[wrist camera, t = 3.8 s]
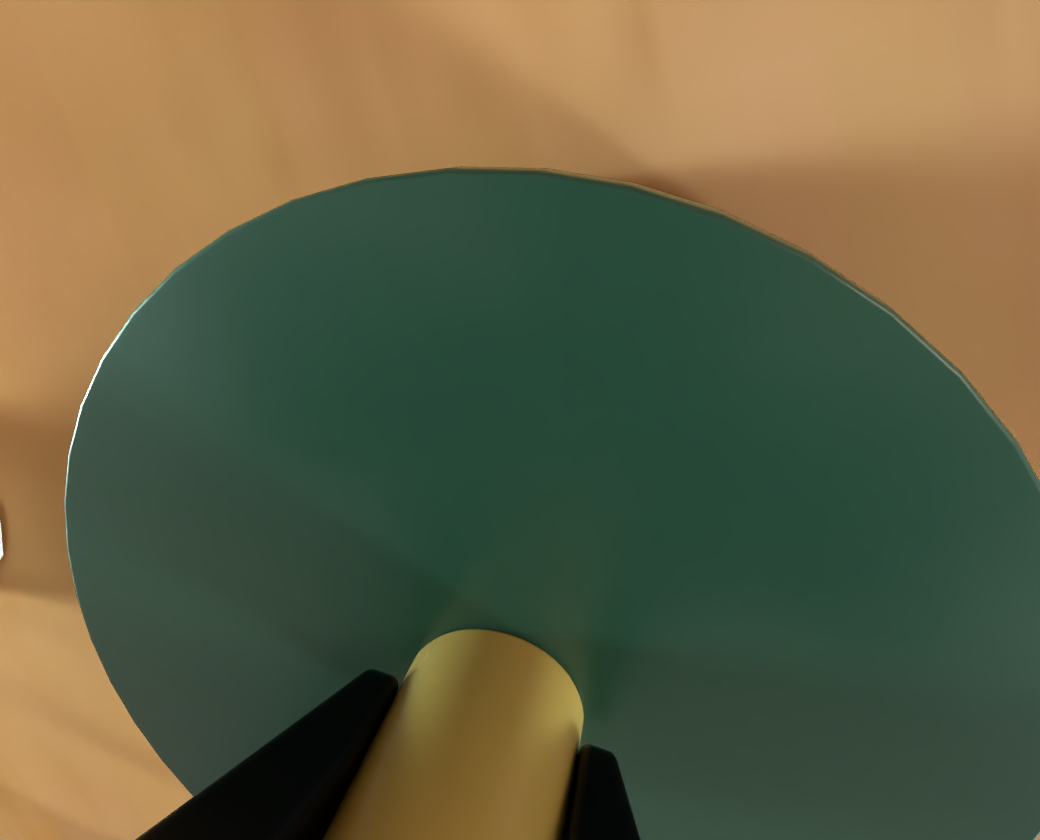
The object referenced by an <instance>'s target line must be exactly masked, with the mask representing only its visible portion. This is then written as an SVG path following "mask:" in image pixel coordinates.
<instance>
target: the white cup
mask: <svg viewBox="0 0 1040 840" xmlns="http://www.w3.org/2000/svg"><path fill="white" fill-rule="evenodd" d="M2 556H3V544H2V532H1V522H0V559H1V558H2Z"/></svg>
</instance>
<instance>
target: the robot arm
mask: <svg viewBox="0 0 1040 840" xmlns="http://www.w3.org/2000/svg"><path fill="white" fill-rule="evenodd" d="M398 687H399V682H398V679H397V678H396V677H395V676H392V675H390V674H387V673H384V672H381V671H378V670H375V669H369V670H366V671H365V672H363V673H362V674H360V675H359V676H358V677H356V678H355V679H354V680H352V681H351V682H349V683H348V684H347V685H345V686H344V687H343V688H341V689H340V690H339V691H337V692H336V693H334V694H333V695H332V696H330V697H329V698H328V699H326V700H325V701H324V702H322V703H321V704H320V705H318V706H317V707H315V708H314V709H313V710H311V711H310V712H309V713H307V714H306V715H305V716H303V717H302V718H300V719H299V720H298V721H296V722H295V723H294V724H292V725H291V726H290V727H288V728H287V729H285V730H284V731H283V732H281V733H280V734H279V735H277V736H276V737H275V738H273V739H272V740H270V741H269V742H268V743H266V744H265V745H264V746H262V747H261V748H260V749H258V750H257V751H256V752H254V753H253V754H251V755H250V756H249V757H247V758H246V759H245V760H243V761H242V762H241V763H239V764H238V765H236V766H235V767H234V768H232V769H231V770H230V771H228V772H227V773H226V774H224V775H223V776H221V777H220V778H219V779H217V780H216V781H215V782H213V783H212V784H211V785H209V786H208V787H206V788H205V789H204V790H202V791H201V792H200V793H198V794H197V795H196V796H194V797H193V798H191V799H190V800H189V801H187V802H186V803H185V804H183V805H182V806H181V807H179V808H178V809H177V810H175V811H174V812H172V813H171V814H170V815H168V816H167V817H166V818H164V819H163V820H162V821H160V822H159V823H157V824H156V825H155V826H153V827H152V828H151V829H149V830H148V831H147V832H145V833H144V834H142V835H141V836H140V837H138V838H137V839H136V840H321V839H322V837H323V835H324V833H325V831H326V830H327V828H328V826H329V824H330V822H331V820H332V818H333V816H334V814H335V812H336V810H337V808H338V806H339V804H340V802H341V800H342V798H343V796H344V795H345V793H346V791H347V789H348V787H349V785H350V783H351V781H352V779H353V777H354V775H355V773H356V771H357V769H358V767H359V765H360V763H361V761H362V759H363V758H364V756H365V754H366V752H367V750H368V748H369V746H370V744H371V742H372V740H373V738H374V736H375V734H376V732H377V730H378V728H379V726H380V724H381V723H382V721H383V719H384V717H385V715H386V713H387V711H388V709H389V707H390V705H391V703H392V701H393V699H394V697H395V695H396V693H397V691H398ZM563 840H641V839H640V836H639V833H638V829H637V826H636V822H635V819H634V816H633V812H632V809H631V805H630V802H629V799H628V795H627V792H626V788H625V785H624V782H623V778H622V775H621V772H620V768H619V765H618V762H617V759H616V757H615V755H614V754H613V753H612V752H610V751H608V750H605V749H602V748H599V747H596V746H593V745H591V744H583V745H582V746H581V748H580V750H579V753H578V756H577V762H576V768H575V774H574V780H573V786H572V792H571V797H570V803H569V809H568V815H567V821H566V827H565V833H564V839H563Z"/></svg>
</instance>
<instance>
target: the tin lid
mask: <svg viewBox="0 0 1040 840" xmlns="http://www.w3.org/2000/svg"><path fill="white" fill-rule="evenodd" d="M64 504H65V520H66V536H67V550H68V555H69V560H70V565H71V570H72V575H73V580H74V585H75V590H76V595H77V599H78V602H79V605H80V608H81V611H82V614H83V617H84V620H85V623H86V626H87V629H88V632H89V635H90V638H91V640H92V643H93V645H94V647H95V649H96V651H97V654H98V656H99V658H100V660H101V662H102V664H103V667H104V669H105V671H106V673H107V675H108V677H109V680H110V682H111V683H112V685H113V687H114V689H115V690H116V692H117V694H118V695H119V697H120V699H121V700H122V702H123V704H124V705H125V707H126V709H127V711H128V712H129V714H130V716H131V717H132V719H133V721H134V722H135V724H136V725H137V726H138V728H139V729H140V731H141V732H142V733H143V735H144V736H145V738H146V739H147V740H148V742H149V743H150V744H151V746H152V747H153V749H154V750H155V751H156V753H157V754H158V755H159V757H160V758H161V760H162V761H163V762H164V763H165V764H166V765H167V767H168V768H169V769H170V770H171V771H172V772H173V773H174V775H175V776H176V777H177V778H178V779H179V780H180V782H181V783H182V784H183V785H184V786H185V787H186V788H187V790H188V791H189V792H190V793H191V794H192V795H193V796H196V795H197V794H198V793H200V792H201V791H202V790H204V789H205V788H206V787H208V786H209V785H211V784H212V783H213V782H215V781H216V780H217V779H219V778H220V777H221V776H223V775H224V774H226V773H227V772H228V771H230V770H231V769H232V768H234V767H235V766H236V765H238V764H239V763H241V762H242V761H243V760H245V759H246V758H247V757H249V756H250V755H251V754H253V753H254V752H256V751H257V750H258V749H260V748H261V747H262V746H264V745H265V744H266V743H268V742H269V741H270V740H272V739H273V738H275V737H276V736H277V735H279V734H280V733H281V732H283V731H284V730H285V729H287V728H288V727H290V726H291V725H292V724H294V723H295V722H296V721H298V720H299V719H300V718H302V717H303V716H305V715H306V714H307V713H309V712H310V711H311V710H313V709H314V708H315V707H317V706H318V705H320V704H321V703H322V702H324V701H325V700H326V699H328V698H329V697H330V696H332V695H333V694H334V693H336V692H337V691H339V690H340V689H341V688H343V687H344V686H345V685H347V684H348V683H349V682H351V681H352V680H354V679H355V678H356V677H358V676H359V675H360V674H362V673H363V672H365V671H366V670H369V669H375V670H378V671H381V672H384V673H387V674H390V675H392V676H395V677H396V678H397V679H398V682H399V687H398V691H397V693H396V695H395V697H394V699H393V701H392V703H391V705H390V707H389V709H388V711H387V713H386V715H385V717H384V719H383V721H382V723H381V724H380V726H379V728H378V730H377V732H376V734H375V736H374V738H373V740H372V742H371V744H370V746H369V748H368V750H367V752H366V754H365V756H364V758H363V759H362V761H361V763H360V765H359V767H358V769H357V771H356V773H355V775H354V777H353V779H352V781H351V783H350V785H349V787H348V789H347V791H346V793H345V795H344V796H343V798H342V800H341V802H340V804H339V806H338V808H337V810H336V812H335V814H334V816H333V818H332V820H331V822H330V824H329V826H328V828H327V830H326V831H325V833H324V835H323V837H322V839H321V840H563V839H564V833H565V827H566V821H567V815H568V809H569V803H570V797H571V792H572V786H573V780H574V774H575V768H576V762H577V756H578V753H579V750H580V748H581V746H582V745H583V744H591V745H593V746H596V747H599V748H602V749H605V750H608V751H610V752H612V753H613V754H614V755H615V757H616V759H617V762H618V765H619V768H620V772H621V775H622V778H623V782H624V785H625V788H626V792H627V795H628V799H629V802H630V805H631V809H632V812H633V816H634V819H635V822H636V826H637V829H638V833H639V836H640V839H641V840H1036V838H1037V837H1038V836H1039V834H1040V481H1039V480H1038V478H1037V476H1036V474H1035V472H1034V471H1033V469H1032V467H1031V465H1030V463H1029V462H1028V460H1027V458H1026V456H1025V454H1024V453H1023V451H1022V449H1021V447H1020V445H1019V444H1018V442H1017V440H1016V439H1015V438H1014V437H1013V435H1012V434H1011V433H1010V432H1009V430H1008V429H1007V428H1006V427H1005V425H1004V424H1003V423H1002V422H1001V420H1000V419H999V418H998V417H997V415H996V414H995V413H994V412H993V410H992V409H991V408H990V407H989V405H988V404H987V403H986V402H985V400H984V399H983V398H982V397H981V396H980V394H979V393H978V392H977V391H976V389H975V388H974V387H973V386H972V384H971V383H970V382H969V381H968V379H967V378H966V377H965V376H964V374H963V373H962V372H961V371H960V370H959V369H958V368H956V367H955V366H954V365H953V364H952V363H951V362H950V361H949V360H948V359H947V358H945V357H944V356H943V355H942V354H941V353H940V352H939V351H938V350H937V349H935V348H934V347H933V346H932V345H931V344H930V343H929V342H928V341H927V340H926V339H924V338H923V337H922V336H921V335H920V334H919V333H918V332H917V331H916V330H915V329H913V328H912V327H911V326H910V325H909V324H908V323H907V322H906V321H905V320H903V319H902V318H901V317H900V316H899V315H898V314H897V313H896V312H895V311H894V310H892V309H891V308H890V307H889V306H887V305H886V304H885V303H884V302H882V301H881V300H880V299H878V298H877V297H875V296H874V295H872V294H871V293H869V292H868V291H866V290H865V289H863V288H862V287H860V286H859V285H857V284H856V283H854V282H853V281H851V280H850V279H848V278H847V277H845V276H844V275H842V274H841V273H839V272H838V271H836V270H835V269H833V268H832V267H830V266H829V265H827V264H826V263H824V262H823V261H821V260H820V259H818V258H817V257H815V256H814V255H812V254H811V253H809V252H808V251H806V250H804V249H802V248H800V247H798V246H796V245H794V244H792V243H789V242H787V241H785V240H783V239H781V238H779V237H777V236H775V235H773V234H771V233H768V232H766V231H764V230H762V229H760V228H758V227H756V226H754V225H752V224H750V223H747V222H745V221H743V220H741V219H739V218H737V217H735V216H733V215H731V214H729V213H726V212H724V211H722V210H719V209H716V208H713V207H710V206H707V205H703V204H700V203H697V202H694V201H691V200H687V199H684V198H681V197H678V196H675V195H671V194H668V193H665V192H662V191H659V190H655V189H652V188H649V187H646V186H643V185H640V184H636V183H632V182H626V181H620V180H614V179H608V178H602V177H596V176H590V175H584V174H578V173H572V172H566V171H560V170H554V169H548V168H510V167H462V166H461V167H453V168H445V169H437V170H429V171H421V172H413V173H406V174H398V175H390V176H382V177H374V178H366V179H363V180H359V181H356V182H352V183H349V184H346V185H342V186H339V187H335V188H332V189H328V190H325V191H321V192H318V193H315V194H311V195H308V196H304V197H301V198H297V199H294V200H291V201H289V202H287V203H285V204H283V205H281V206H279V207H276V208H274V209H272V210H270V211H268V212H266V213H264V214H262V215H260V216H258V217H256V218H253V219H251V220H249V221H247V222H245V223H243V224H241V225H239V226H237V227H235V228H233V229H230V230H229V231H227V232H226V233H224V234H223V235H221V236H220V237H219V238H217V239H216V240H214V241H213V242H212V243H210V244H209V245H207V246H206V247H205V248H203V249H202V250H200V251H199V252H198V253H196V254H195V255H193V256H192V257H191V258H189V259H188V260H186V261H185V262H183V263H182V264H181V265H179V266H178V267H176V268H175V269H174V270H173V271H172V272H171V273H170V274H169V276H168V277H167V278H166V279H165V280H164V281H163V282H162V283H161V284H160V285H159V286H158V287H157V288H156V289H155V290H154V291H153V292H152V293H151V294H150V295H149V296H148V297H147V298H146V299H145V300H144V301H143V302H142V303H141V304H140V305H139V306H138V307H137V308H136V309H135V310H134V311H133V313H132V314H131V316H130V317H129V319H128V320H127V322H126V323H125V325H124V326H123V328H122V329H121V330H120V332H119V333H118V335H117V336H116V338H115V339H114V341H113V342H112V344H111V345H110V347H109V348H108V350H107V351H106V353H105V354H104V356H103V357H102V359H101V361H100V363H99V366H98V368H97V370H96V372H95V375H94V377H93V379H92V381H91V384H90V386H89V388H88V390H87V393H86V395H85V397H84V399H83V402H82V404H81V407H80V411H79V414H78V418H77V422H76V426H75V430H74V434H73V438H72V442H71V446H70V450H69V455H68V466H67V478H66V489H65V501H64Z"/></svg>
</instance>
